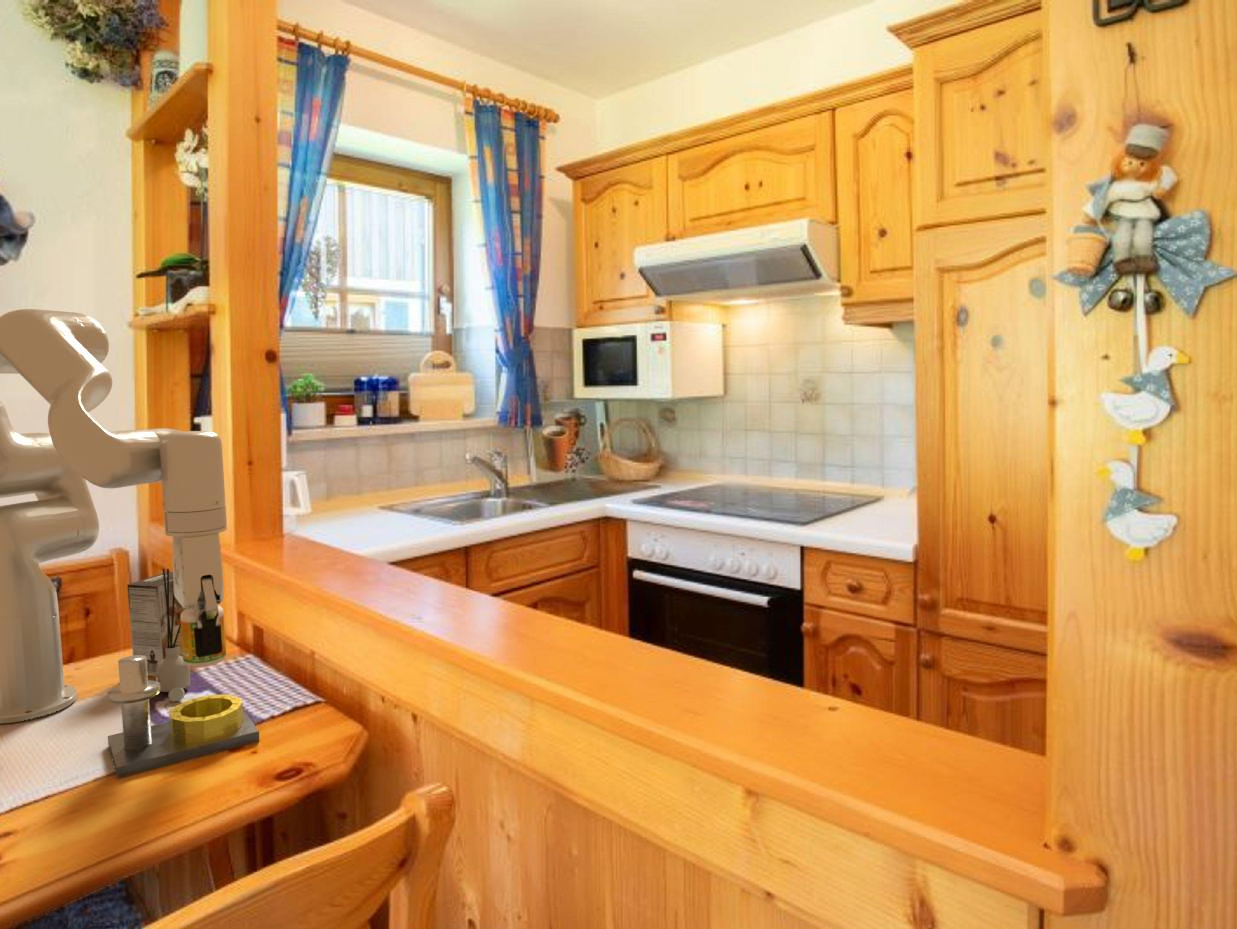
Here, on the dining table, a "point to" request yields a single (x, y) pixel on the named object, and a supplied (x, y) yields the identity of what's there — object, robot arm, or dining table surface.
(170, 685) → the reed diffuser
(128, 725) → the grey peg stand
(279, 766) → the dining table surface
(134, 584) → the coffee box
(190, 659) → the supplement bottle
